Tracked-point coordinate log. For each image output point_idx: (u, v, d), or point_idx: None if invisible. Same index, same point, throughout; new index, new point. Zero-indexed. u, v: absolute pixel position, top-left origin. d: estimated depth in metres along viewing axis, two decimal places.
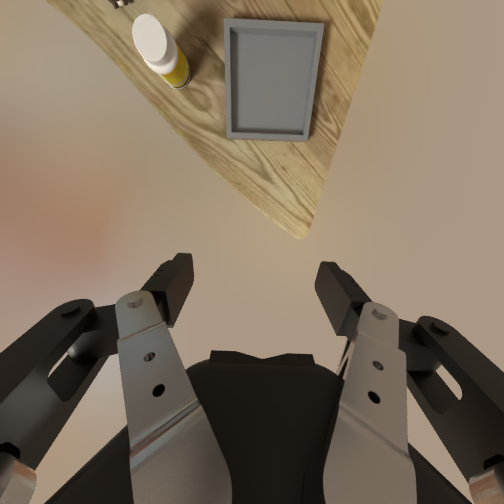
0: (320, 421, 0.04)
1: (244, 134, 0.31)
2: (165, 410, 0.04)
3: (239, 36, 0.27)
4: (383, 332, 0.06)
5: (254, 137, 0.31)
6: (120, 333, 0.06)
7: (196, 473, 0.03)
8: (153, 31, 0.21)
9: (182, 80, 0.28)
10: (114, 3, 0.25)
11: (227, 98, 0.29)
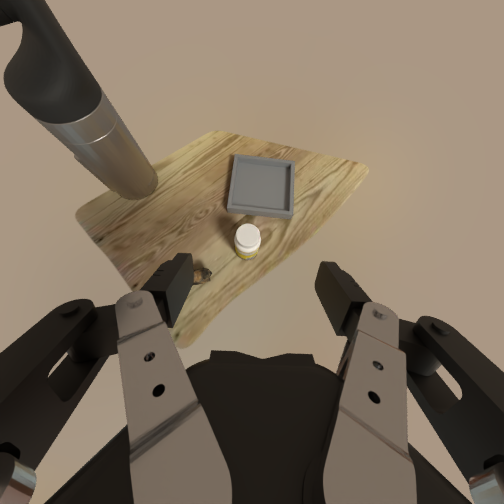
0: (320, 421, 0.04)
1: (290, 202, 0.39)
2: (165, 410, 0.04)
3: (233, 203, 0.40)
4: (382, 332, 0.06)
5: (292, 195, 0.40)
6: (120, 333, 0.06)
7: (196, 473, 0.03)
8: (245, 230, 0.30)
9: None
10: None
11: (268, 211, 0.38)
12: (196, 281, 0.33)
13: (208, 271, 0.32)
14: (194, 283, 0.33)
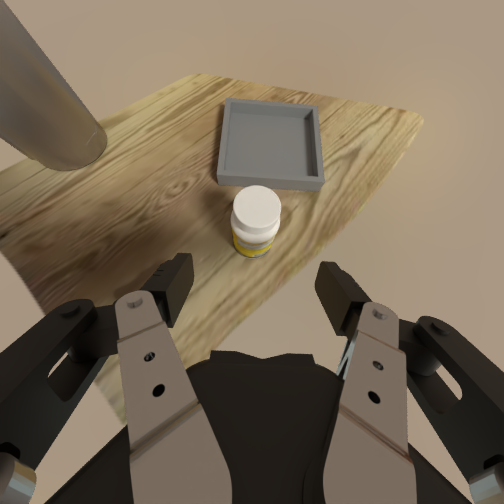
0: (320, 421, 0.04)
1: (318, 163, 0.24)
2: (165, 410, 0.04)
3: (227, 169, 0.25)
4: (383, 332, 0.06)
5: (320, 153, 0.25)
6: (120, 333, 0.06)
7: (196, 473, 0.03)
8: (250, 198, 0.15)
9: None
10: None
11: (284, 177, 0.23)
12: None
13: None
14: None
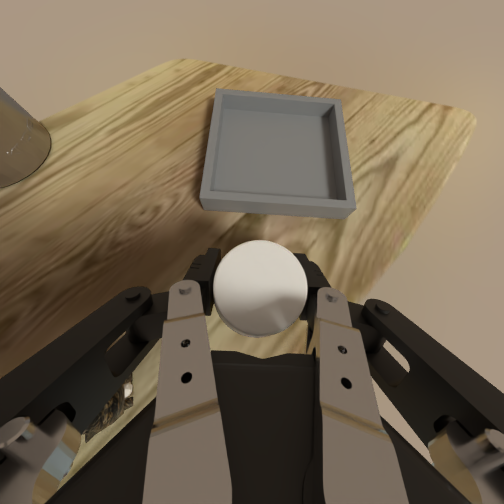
0: (304, 425, 0.04)
1: (346, 180, 0.17)
2: (165, 410, 0.04)
3: (216, 188, 0.18)
4: (337, 314, 0.07)
5: (348, 165, 0.18)
6: (169, 314, 0.06)
7: (196, 473, 0.03)
8: (248, 269, 0.08)
9: None
10: (125, 404, 0.12)
11: (297, 202, 0.16)
12: None
13: None
14: None
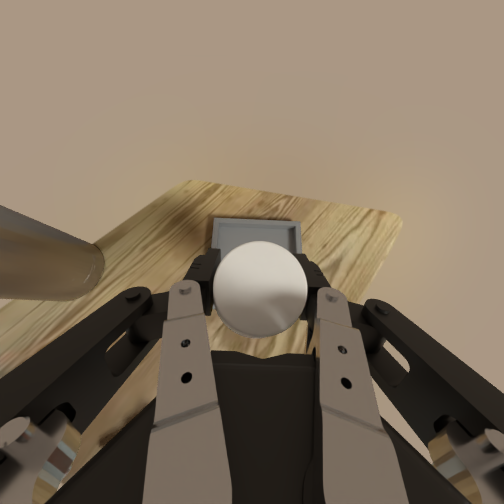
0: (304, 425, 0.04)
1: None
2: (165, 410, 0.04)
3: None
4: (337, 314, 0.07)
5: None
6: (169, 314, 0.06)
7: (196, 473, 0.03)
8: (248, 270, 0.08)
9: None
10: None
11: None
12: None
13: None
14: None
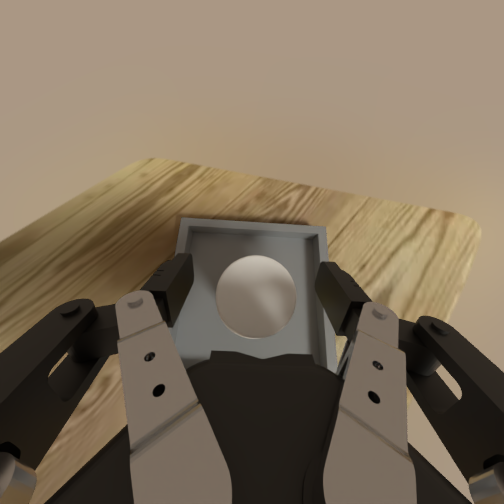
0: (320, 421, 0.04)
1: (329, 351, 0.14)
2: (165, 410, 0.04)
3: None
4: (382, 332, 0.06)
5: (332, 328, 0.15)
6: (121, 332, 0.06)
7: (196, 473, 0.03)
8: (245, 281, 0.09)
9: None
10: None
11: None
12: None
13: None
14: None
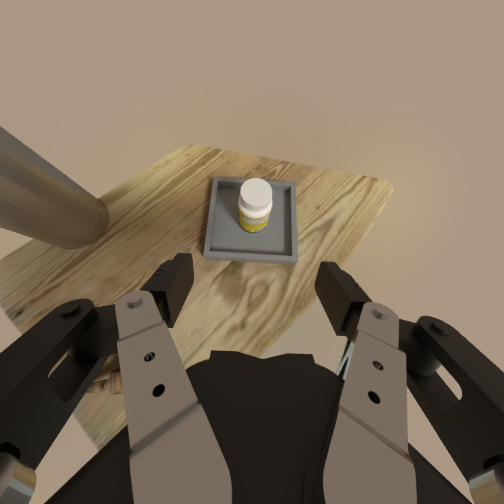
0: (320, 421, 0.04)
1: (293, 242, 0.28)
2: (165, 410, 0.04)
3: (213, 246, 0.29)
4: (382, 332, 0.06)
5: (295, 231, 0.28)
6: (120, 333, 0.06)
7: (196, 473, 0.03)
8: (252, 187, 0.22)
9: None
10: None
11: (262, 257, 0.27)
12: (119, 391, 0.21)
13: None
14: (117, 393, 0.21)
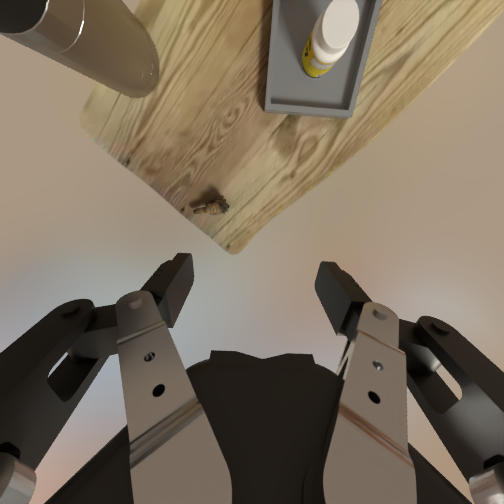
0: (320, 421, 0.04)
1: (354, 92, 0.28)
2: (165, 410, 0.04)
3: (272, 95, 0.29)
4: (383, 332, 0.06)
5: (361, 77, 0.27)
6: (120, 333, 0.06)
7: (196, 473, 0.03)
8: (337, 14, 0.19)
9: None
10: None
11: (319, 112, 0.29)
12: (216, 213, 0.36)
13: (226, 206, 0.34)
14: (214, 214, 0.36)
